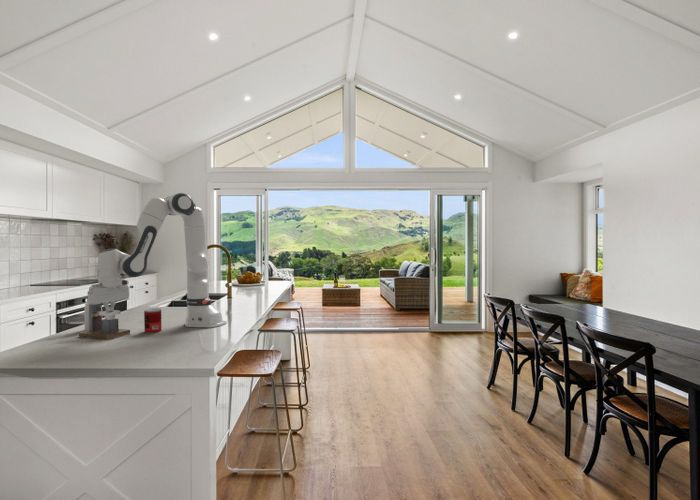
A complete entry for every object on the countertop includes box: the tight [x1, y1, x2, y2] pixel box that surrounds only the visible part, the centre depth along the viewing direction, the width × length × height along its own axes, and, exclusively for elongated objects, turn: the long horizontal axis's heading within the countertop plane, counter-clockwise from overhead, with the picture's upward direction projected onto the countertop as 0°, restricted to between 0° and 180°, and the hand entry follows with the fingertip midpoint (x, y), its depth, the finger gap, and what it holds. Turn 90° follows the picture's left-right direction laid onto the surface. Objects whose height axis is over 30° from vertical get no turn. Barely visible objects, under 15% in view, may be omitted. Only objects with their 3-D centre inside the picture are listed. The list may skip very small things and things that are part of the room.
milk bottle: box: [83, 290, 103, 331], centre depth 218 cm, size 8×8×20 cm
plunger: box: [96, 309, 121, 320], centre depth 206 cm, size 11×6×8 cm, turn 70°
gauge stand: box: [78, 304, 131, 341], centre depth 206 cm, size 18×13×15 cm
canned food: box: [143, 307, 162, 334], centre depth 215 cm, size 8×8×11 cm
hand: (109, 311), depth 205 cm, fingers closed, pressing on plunger
